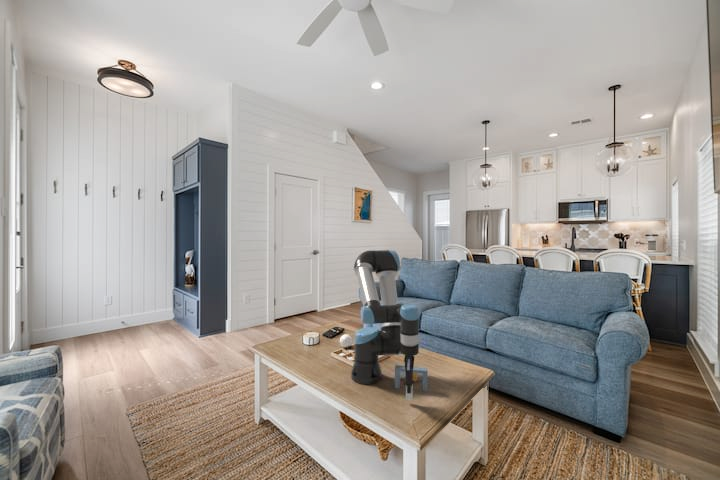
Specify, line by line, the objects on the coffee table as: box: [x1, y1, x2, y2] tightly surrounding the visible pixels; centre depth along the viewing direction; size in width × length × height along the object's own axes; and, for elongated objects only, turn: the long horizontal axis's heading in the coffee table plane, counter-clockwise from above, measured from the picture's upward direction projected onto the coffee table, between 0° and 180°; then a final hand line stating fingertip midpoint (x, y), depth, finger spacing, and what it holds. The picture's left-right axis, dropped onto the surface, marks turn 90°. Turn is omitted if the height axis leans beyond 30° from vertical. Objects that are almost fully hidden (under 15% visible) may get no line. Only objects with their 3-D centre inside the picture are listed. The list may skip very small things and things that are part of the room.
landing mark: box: [400, 371, 423, 382], centre depth 155 cm, size 13×13×1 cm
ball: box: [412, 372, 418, 383], centre depth 147 cm, size 6×6×6 cm
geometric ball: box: [339, 333, 353, 348], centre depth 190 cm, size 8×8×8 cm
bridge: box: [394, 364, 429, 392], centre depth 141 cm, size 3×14×9 cm, turn 77°
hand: (409, 399), depth 128 cm, fingers closed
